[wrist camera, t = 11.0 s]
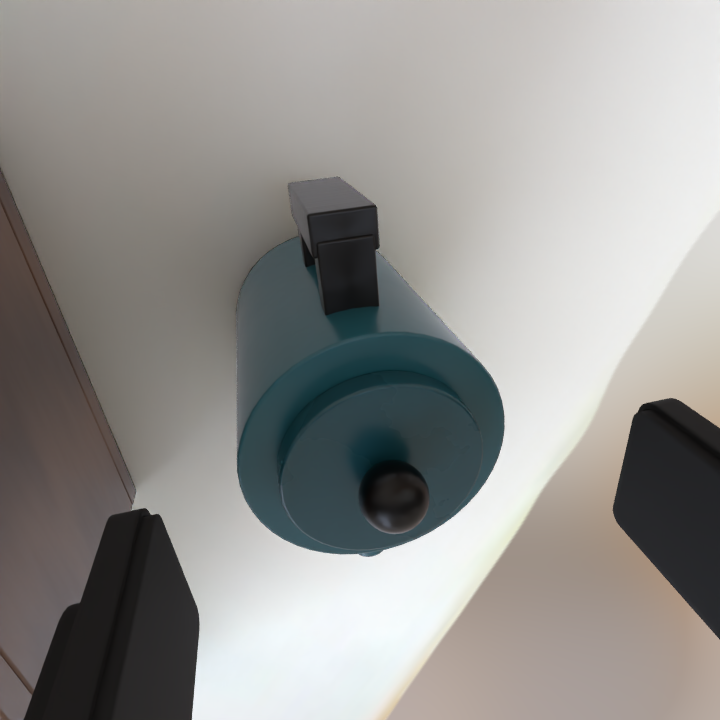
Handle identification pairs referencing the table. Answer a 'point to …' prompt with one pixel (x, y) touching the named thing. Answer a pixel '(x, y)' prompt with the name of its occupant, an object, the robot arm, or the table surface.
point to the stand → (44, 466)
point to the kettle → (353, 389)
